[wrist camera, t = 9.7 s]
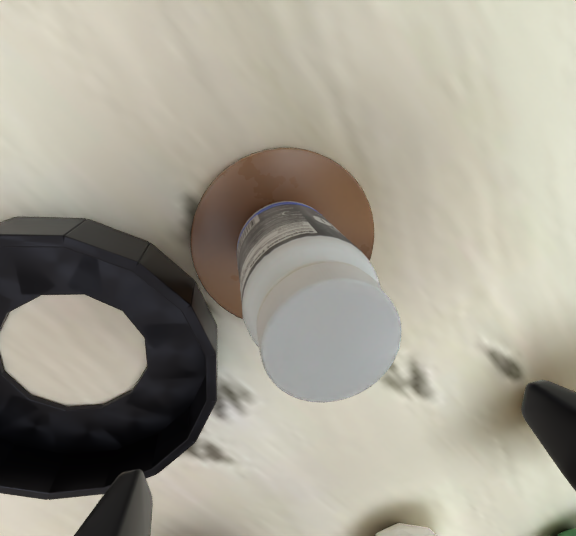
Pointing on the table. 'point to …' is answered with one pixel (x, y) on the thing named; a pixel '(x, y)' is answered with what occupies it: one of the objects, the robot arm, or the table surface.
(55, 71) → the table surface
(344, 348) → the pill bottle
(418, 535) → the ball
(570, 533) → the alien toy
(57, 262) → the pan
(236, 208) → the disc
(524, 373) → the table surface
